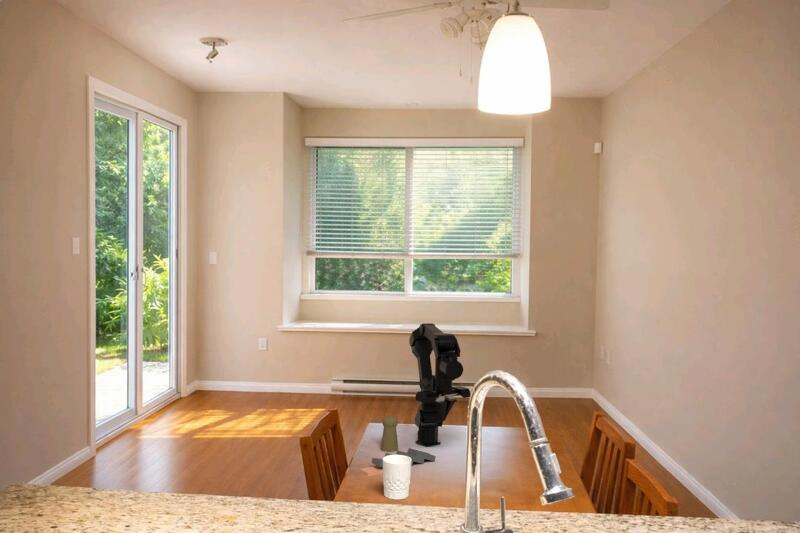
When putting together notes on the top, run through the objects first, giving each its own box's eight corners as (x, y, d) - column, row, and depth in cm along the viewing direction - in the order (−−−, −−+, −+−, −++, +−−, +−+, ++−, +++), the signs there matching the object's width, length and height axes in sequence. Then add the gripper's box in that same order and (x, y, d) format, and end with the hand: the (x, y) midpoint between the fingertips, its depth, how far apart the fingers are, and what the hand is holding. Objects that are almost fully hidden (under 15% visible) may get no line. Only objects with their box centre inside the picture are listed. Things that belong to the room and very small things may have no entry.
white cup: (400, 502, 180) (401, 465, 179) (376, 496, 184) (377, 460, 183) (416, 494, 186) (416, 458, 186) (392, 488, 190) (392, 452, 190)
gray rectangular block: (427, 452, 219) (408, 447, 214) (435, 456, 215) (417, 451, 211) (425, 457, 218) (407, 452, 214) (434, 461, 215) (415, 456, 210)
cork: (399, 447, 229) (400, 414, 229) (397, 452, 223) (398, 419, 223) (381, 446, 230) (382, 413, 230) (379, 451, 224) (380, 418, 224)
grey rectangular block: (404, 457, 213) (385, 452, 208) (413, 461, 210) (394, 456, 205) (403, 462, 213) (384, 457, 208) (411, 466, 209) (392, 461, 205)
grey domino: (415, 455, 216) (397, 450, 211) (424, 458, 212) (405, 453, 208) (414, 460, 216) (395, 455, 211) (423, 463, 212) (404, 459, 207)
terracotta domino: (382, 464, 208) (359, 469, 203) (390, 468, 204) (367, 473, 200) (381, 469, 208) (359, 474, 203) (390, 473, 204) (367, 478, 200)
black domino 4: (392, 460, 210) (372, 457, 206) (401, 463, 207) (380, 461, 202) (391, 465, 210) (371, 463, 205) (400, 469, 207) (379, 466, 202)
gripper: (450, 366, 231) (449, 411, 231) (405, 371, 220) (404, 419, 220) (471, 371, 222) (470, 419, 222) (426, 377, 211) (425, 427, 211)
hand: (442, 420), depth 219 cm, fingers closed
